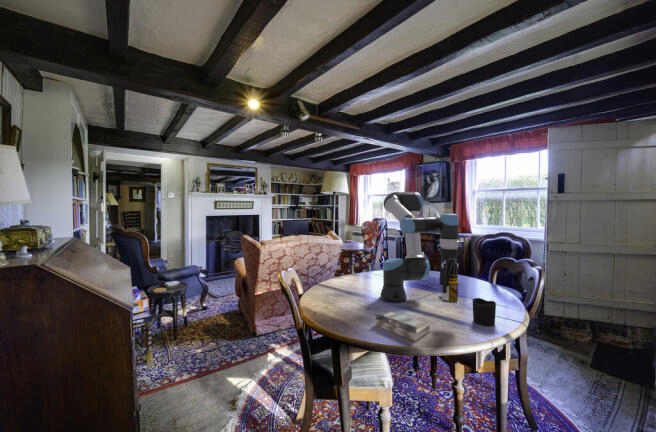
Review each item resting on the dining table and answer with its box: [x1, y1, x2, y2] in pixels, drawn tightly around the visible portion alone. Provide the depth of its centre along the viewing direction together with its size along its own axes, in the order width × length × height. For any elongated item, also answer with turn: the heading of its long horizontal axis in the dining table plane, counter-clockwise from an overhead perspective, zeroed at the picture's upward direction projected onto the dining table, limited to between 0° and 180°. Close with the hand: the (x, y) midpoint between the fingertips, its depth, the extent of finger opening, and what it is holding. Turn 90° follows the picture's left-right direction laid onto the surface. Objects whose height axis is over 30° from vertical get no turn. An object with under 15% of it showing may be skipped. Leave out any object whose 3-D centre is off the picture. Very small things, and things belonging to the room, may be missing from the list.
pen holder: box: [472, 297, 497, 327], centre depth 124 cm, size 9×9×10 cm
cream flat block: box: [375, 311, 431, 342], centre depth 119 cm, size 20×12×6 cm, turn 42°
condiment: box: [437, 273, 460, 305], centre depth 122 cm, size 7×8×12 cm
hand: (448, 297), depth 122 cm, fingers closed on condiment, 6 cm apart
